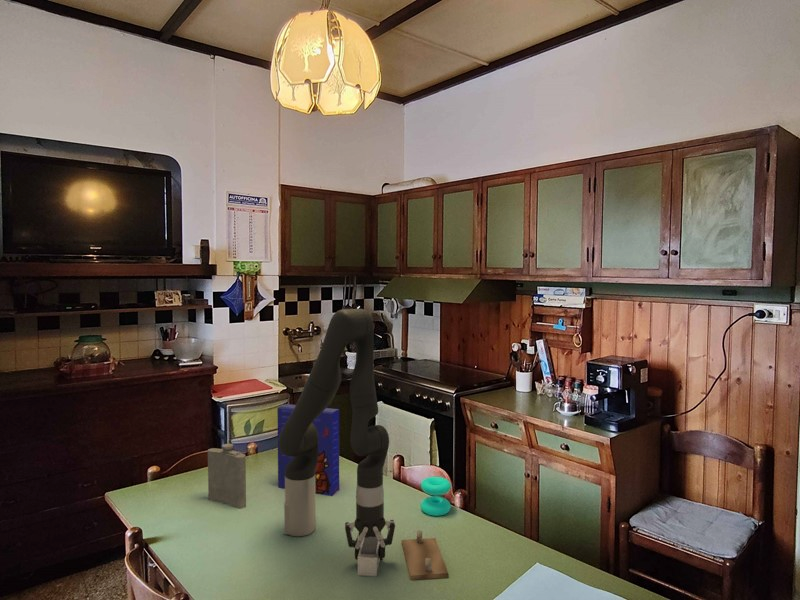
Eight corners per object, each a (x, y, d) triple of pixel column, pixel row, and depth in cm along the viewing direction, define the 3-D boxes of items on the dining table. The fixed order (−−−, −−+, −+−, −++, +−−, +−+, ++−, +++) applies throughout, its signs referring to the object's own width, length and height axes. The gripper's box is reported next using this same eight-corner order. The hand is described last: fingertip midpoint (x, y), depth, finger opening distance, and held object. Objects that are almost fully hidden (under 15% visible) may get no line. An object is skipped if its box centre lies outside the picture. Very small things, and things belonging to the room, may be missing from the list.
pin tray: (410, 580, 137) (410, 564, 136) (401, 543, 155) (401, 529, 154) (448, 577, 138) (448, 561, 138) (435, 541, 156) (435, 528, 155)
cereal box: (339, 489, 192) (339, 408, 190) (332, 496, 186) (331, 412, 184) (286, 481, 199) (285, 403, 197) (278, 487, 193) (277, 407, 191)
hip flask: (206, 499, 183) (205, 443, 182) (215, 495, 187) (214, 439, 185) (241, 509, 176) (240, 450, 175) (249, 504, 180) (249, 446, 178)
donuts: (430, 473, 182) (456, 479, 177) (429, 501, 183) (455, 508, 178) (415, 483, 174) (442, 489, 169) (415, 512, 174) (442, 520, 169)
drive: (357, 575, 139) (357, 556, 138) (363, 550, 151) (363, 533, 150) (376, 576, 138) (376, 557, 138) (381, 551, 150) (381, 534, 150)
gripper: (343, 507, 139) (343, 569, 140) (397, 504, 140) (397, 565, 141) (343, 494, 146) (343, 553, 147) (394, 492, 148) (394, 550, 149)
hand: (370, 559), depth 144 cm, fingers closed on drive, 5 cm apart
